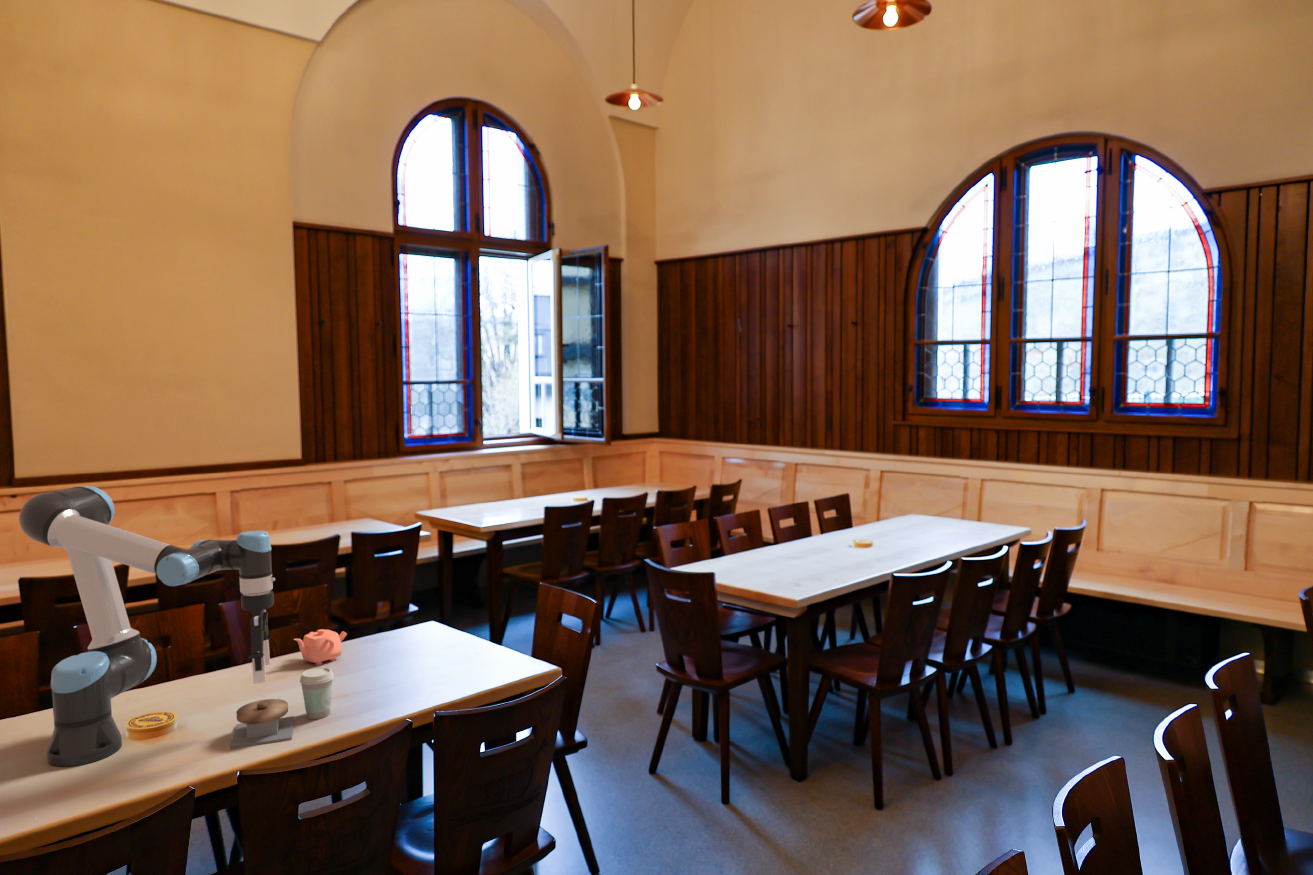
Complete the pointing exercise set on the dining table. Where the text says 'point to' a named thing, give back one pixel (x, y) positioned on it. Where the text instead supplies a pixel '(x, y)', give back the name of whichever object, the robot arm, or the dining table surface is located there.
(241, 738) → the grey stepped base plate
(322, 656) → the teapot
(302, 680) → the coffee cup
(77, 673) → the robot arm
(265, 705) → the lid
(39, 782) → the dining table surface
